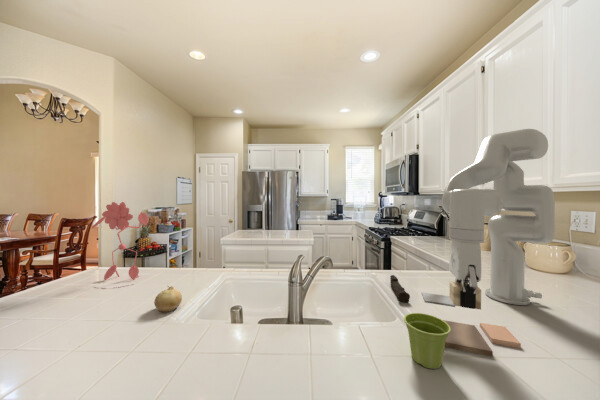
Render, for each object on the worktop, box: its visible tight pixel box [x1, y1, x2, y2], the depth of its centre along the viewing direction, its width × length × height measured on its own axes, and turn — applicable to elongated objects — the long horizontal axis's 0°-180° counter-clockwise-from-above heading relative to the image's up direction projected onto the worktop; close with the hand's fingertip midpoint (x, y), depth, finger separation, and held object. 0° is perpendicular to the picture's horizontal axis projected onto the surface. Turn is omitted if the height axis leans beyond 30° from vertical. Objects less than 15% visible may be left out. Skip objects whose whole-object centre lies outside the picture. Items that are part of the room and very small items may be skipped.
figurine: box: [91, 201, 150, 290], centre depth 99 cm, size 15×26×35 cm, turn 89°
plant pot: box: [403, 312, 451, 370], centre depth 53 cm, size 9×9×9 cm
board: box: [442, 319, 494, 357], centre depth 62 cm, size 14×12×1 cm
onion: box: [153, 285, 183, 313], centre depth 76 cm, size 8×8×7 cm
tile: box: [479, 322, 522, 349], centre depth 62 cm, size 6×2×8 cm
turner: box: [421, 281, 482, 310], centre depth 62 cm, size 13×6×5 cm, turn 69°
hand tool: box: [389, 274, 411, 304], centre depth 91 cm, size 19×4×5 cm, turn 168°
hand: (464, 302), depth 61 cm, fingers closed on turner, 4 cm apart
